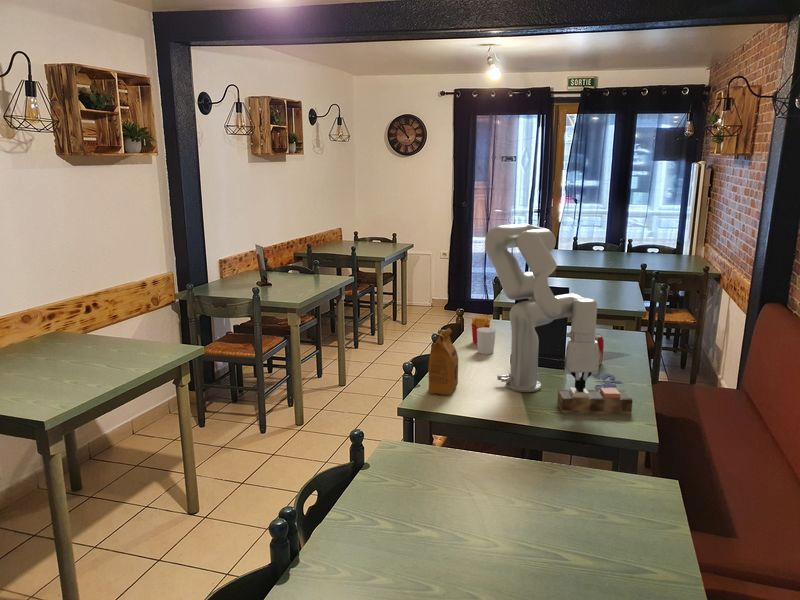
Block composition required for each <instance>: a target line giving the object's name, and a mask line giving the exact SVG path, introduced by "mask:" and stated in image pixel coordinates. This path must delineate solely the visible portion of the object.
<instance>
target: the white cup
mask: <svg viewBox="0 0 800 600" xmlns="http://www.w3.org/2000/svg"><path fill="white" fill-rule="evenodd" d="M495 341H496V329H495V328H493V327H489V328H487V327H484V328H478V329H477V353H478V352H479V353H478V354H480V353H481V355H492V354H494V348H495Z"/></svg>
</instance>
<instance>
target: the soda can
mask: <svg viewBox="0 0 800 600" xmlns="http://www.w3.org/2000/svg"><path fill="white" fill-rule="evenodd" d="M603 337H604V336H603V334H601V333H597V332H596V333H595V340H596V341H597V342H598V348H599V366H600V365H601V364H603V359H604V348H605V347H604V346H605V343H604V342H605V341H604V338H603Z"/></svg>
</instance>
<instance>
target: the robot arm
mask: <svg viewBox="0 0 800 600" xmlns="http://www.w3.org/2000/svg"><path fill="white" fill-rule="evenodd" d="M556 243H557V239H556V237H555V235H554V233H553V232H552V231H551V230H550V229H548V228H545V227H541V226H536V225H534V224H533V225H532V224H528V223H512V224H501V225H496V226H494V227H491V228H490V229H488V231H487V233H486V235H485V238H484V248H485V251H486V254H487V256H488V258H489V261H491V264H492V265H493V267H494V270H495V273H496V274H497V277H498V280H499V282H500V285H501V288H502V290H503V293H504V295H505V296H506V298H507V299H508V300H511V301H517V300H523V301H520V302H518V303H516V304H514V305H513V306H511V308H510V310H509V321H510V326H511V328H510V330H511V344H510V345H511V353H510V371H508V373H507V374H497V375H496V376H497V379H496V381H497V380H498V381H501V383H503V382H504V383H505V386H506V388H507V389H509V390H511V391H514V392H519V393H533V392H537V391H540V390H541V388H542V383H541V382H540V380H539V381H538V370H539V369H538V366H539V345H540V344H539V343H540V340H539V335H538V333H537V331H536V329H535V328H536V327H539V326H544V325H547V324H550V323H552V322H553V321H554V320H559V319H564V318H570V317H571V325H570V327H571V329H570V331H569V332H566V335H565V336H566V338H569V339H568V340H567V345H566V350H565V355H564V356H565V357H564V370H563V373H564V374H566V375H571V376H572V377H573V378H574V388H576V389H577V391H578V392H583V391H584V389H585V388H586V381H587V380H588V378H590V377H591V376H594V374H597V373H599V370H600V369H599V368H600V365H599V348H598V342H597V341H596V340H595V333H596V334H597V332H596V331H597V315H598V302H597V301H596V300H595V299H593V298H590V297H583V296H581V295H579V294H577V293H573V292H572V293H564V294H558V295H554V293H553V291H552V289H551V288H550V286H549V281H548V278H549V276H550V275H551V274H553V273H554V272H555V271H556V269H557V265H558V264H557V262H556V261H555V258H554V256H553V255H552V254H551V251H553V250H554V248H555V247H556ZM513 248H518V251H519V252H520V254H521V256H522V258H523V259H524V261H525V262H526V264H527V266H528V268H529V270H530V271H523V270H522V269H521V266H520V264H519V262H518V261H519V260H517V258H516V257H515V255H514V254H512V253H511V252H510V251H509V249H513ZM524 299H528V300H524ZM580 373H581V375H580Z"/></svg>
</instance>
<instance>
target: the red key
mask: <svg viewBox="0 0 800 600" xmlns="http://www.w3.org/2000/svg"><path fill="white" fill-rule="evenodd" d="M619 391H620V390H618V389H617V387H611V388H600V394H601V395H602V396H603V398H620V393H619Z"/></svg>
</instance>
